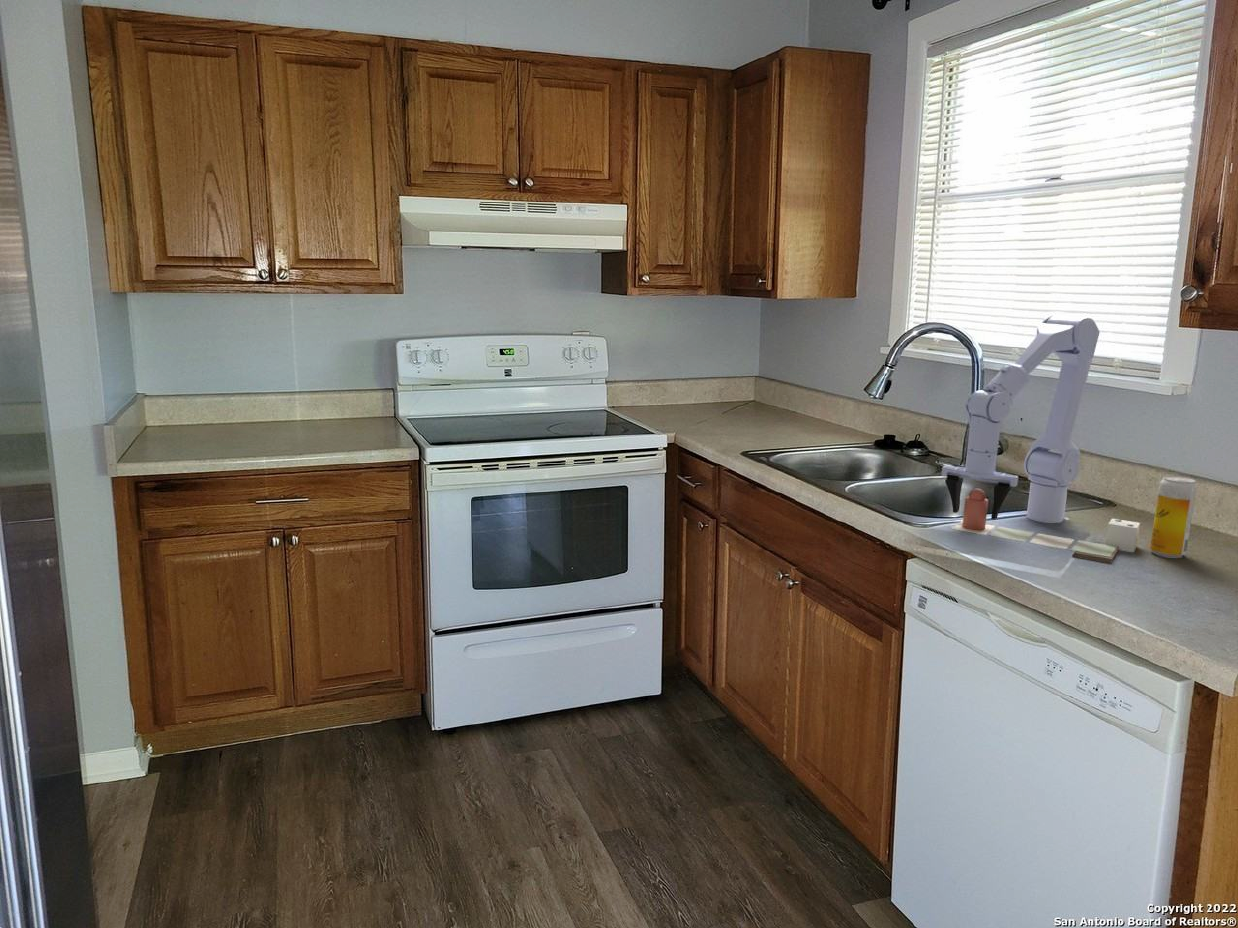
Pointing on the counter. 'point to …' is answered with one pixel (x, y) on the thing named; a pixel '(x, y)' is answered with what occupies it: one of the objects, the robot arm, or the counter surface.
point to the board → (1051, 542)
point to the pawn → (975, 510)
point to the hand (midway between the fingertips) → (974, 515)
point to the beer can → (1173, 516)
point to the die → (1123, 534)
